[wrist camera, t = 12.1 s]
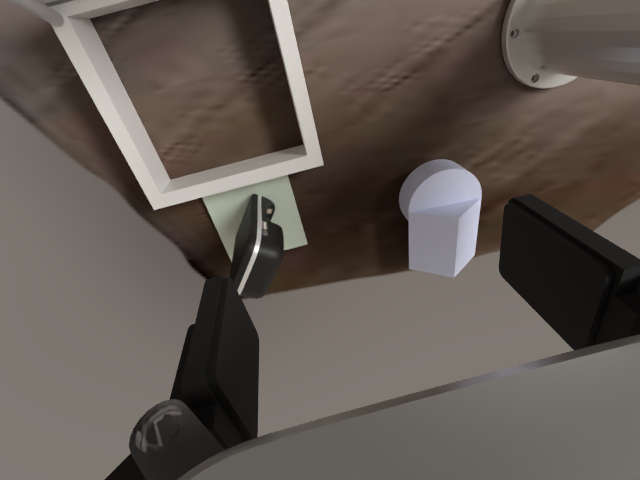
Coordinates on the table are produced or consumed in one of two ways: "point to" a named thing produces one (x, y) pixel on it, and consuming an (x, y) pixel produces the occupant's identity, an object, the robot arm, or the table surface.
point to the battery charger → (257, 249)
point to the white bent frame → (126, 127)
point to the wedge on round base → (441, 216)
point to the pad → (234, 202)
